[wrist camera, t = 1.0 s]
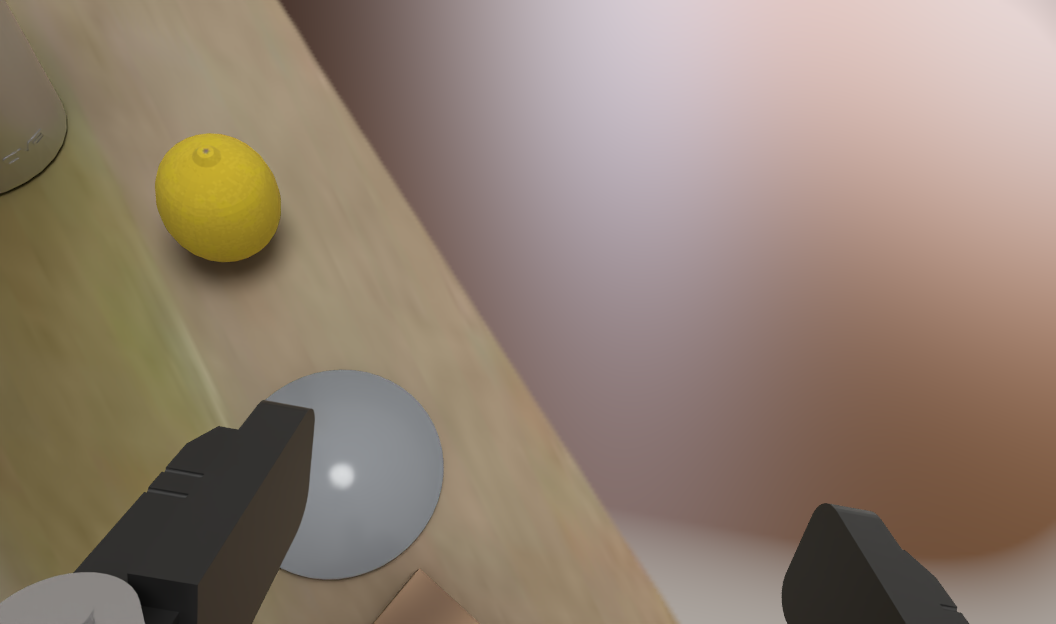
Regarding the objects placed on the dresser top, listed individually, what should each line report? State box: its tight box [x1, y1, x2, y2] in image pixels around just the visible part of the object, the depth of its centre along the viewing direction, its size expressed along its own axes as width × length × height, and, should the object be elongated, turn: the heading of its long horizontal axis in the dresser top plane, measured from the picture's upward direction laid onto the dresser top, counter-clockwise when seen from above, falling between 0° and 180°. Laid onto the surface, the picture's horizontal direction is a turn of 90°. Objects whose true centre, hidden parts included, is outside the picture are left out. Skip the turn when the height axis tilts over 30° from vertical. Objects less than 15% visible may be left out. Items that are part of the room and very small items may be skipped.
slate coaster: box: [266, 370, 443, 580], centre depth 33 cm, size 10×10×1 cm
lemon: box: [155, 133, 281, 262], centre depth 33 cm, size 6×6×8 cm
